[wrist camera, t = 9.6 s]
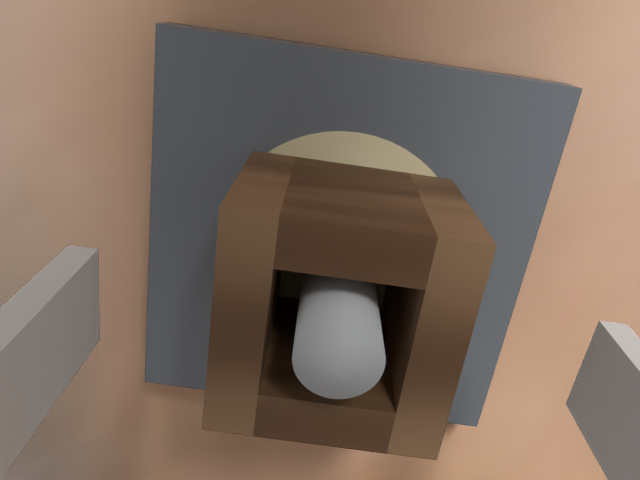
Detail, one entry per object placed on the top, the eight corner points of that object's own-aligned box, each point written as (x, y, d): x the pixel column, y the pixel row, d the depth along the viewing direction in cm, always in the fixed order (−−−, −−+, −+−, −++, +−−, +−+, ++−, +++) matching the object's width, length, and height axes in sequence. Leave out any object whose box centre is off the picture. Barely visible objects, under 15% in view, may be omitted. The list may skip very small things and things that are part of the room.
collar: (252, 150, 20) (219, 206, 14) (452, 179, 20) (497, 245, 14) (235, 324, 22) (202, 429, 17) (411, 348, 22) (436, 459, 17)
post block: (169, 22, 19) (54, 29, 12) (565, 83, 20) (715, 130, 12) (155, 360, 25) (70, 524, 17) (468, 403, 25) (529, 582, 17)
